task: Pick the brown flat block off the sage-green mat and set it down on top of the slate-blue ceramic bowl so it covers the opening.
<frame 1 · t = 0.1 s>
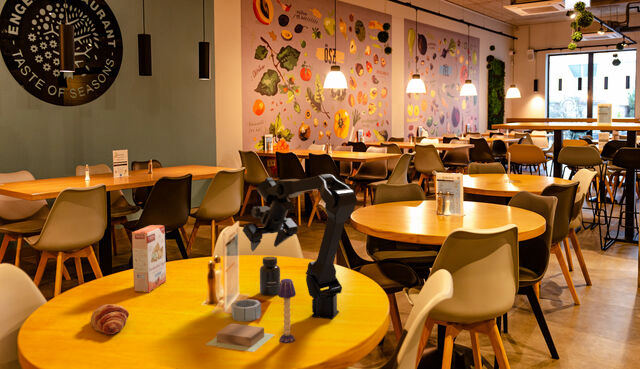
hand: (263, 248, 189), 15 cm above the table, tool tilted 35°, fingers open, 9 cm apart
brown flat block: (240, 339, 147), resting on mat
supplement bottle: (270, 293, 189), on the table
bowl: (246, 318, 165), on the table
croissant: (110, 326, 160), on the table
cracker box: (151, 287, 197), on the table
toy lamp: (287, 342, 147), on the table
mat: (240, 341, 148), on the table
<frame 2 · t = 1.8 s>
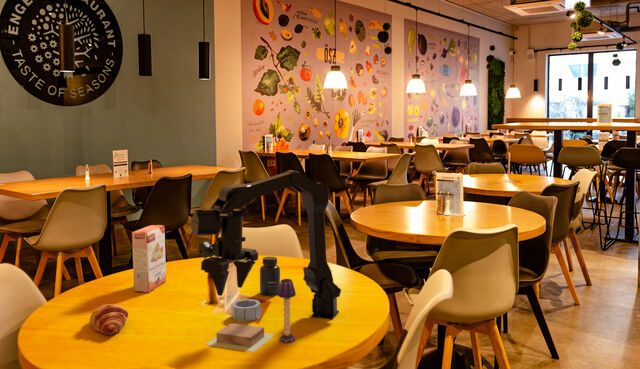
hand: (230, 291, 150), 12 cm above the table, tool pointing down, fingers open, 9 cm apart
nothing on the table moved.
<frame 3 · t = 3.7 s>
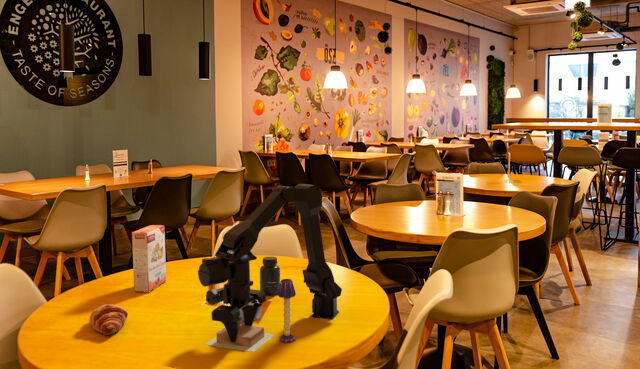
hand: (240, 336, 147), 1 cm above the table, tool pointing down, fingers closed on brown flat block, 7 cm apart
brown flat block: (240, 339, 147), resting on mat, touching gripper
everything else where it was.
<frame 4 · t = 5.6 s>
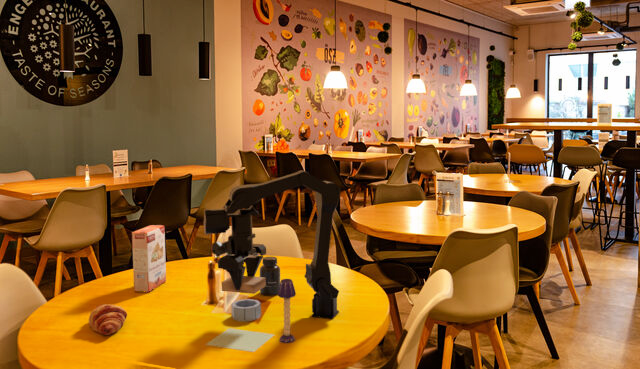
hand: (244, 285, 159), 11 cm above the table, tool pointing down, fingers closed on brown flat block, 7 cm apart
brown flat block: (244, 288, 159), point 10 cm above the table, touching gripper
everything else where it was.
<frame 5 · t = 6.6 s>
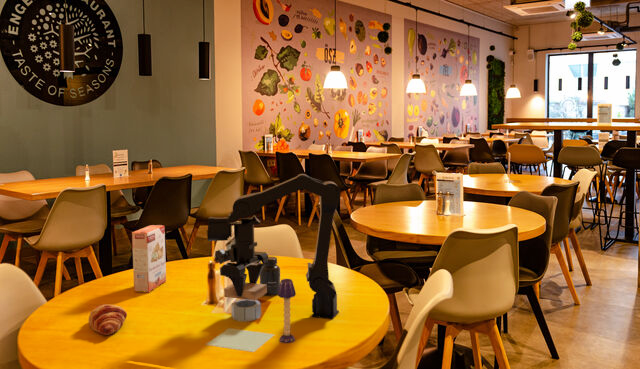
hand: (246, 292, 164), 8 cm above the table, tool pointing down, fingers closed on brown flat block, 7 cm apart
brown flat block: (245, 294, 164), point 7 cm above the table, touching gripper
everything else where it was.
when the fingers open (6 cm above the table, at t = 7.5 s): brown flat block stays where it is, point 4 cm above the table.
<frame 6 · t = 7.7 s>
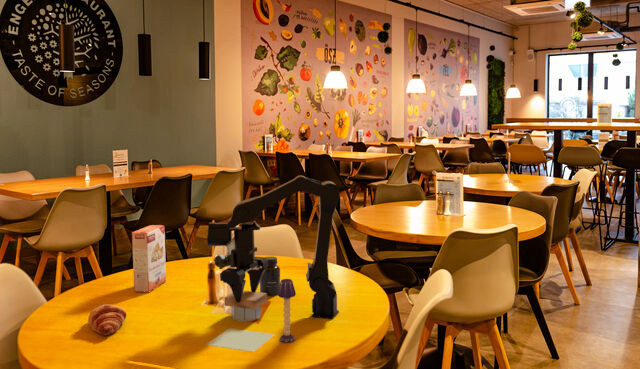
hand: (246, 297, 164), 6 cm above the table, tool pointing down, fingers open, 9 cm apart
brown flat block: (246, 303, 164), point 4 cm above the table
everything else where it was.
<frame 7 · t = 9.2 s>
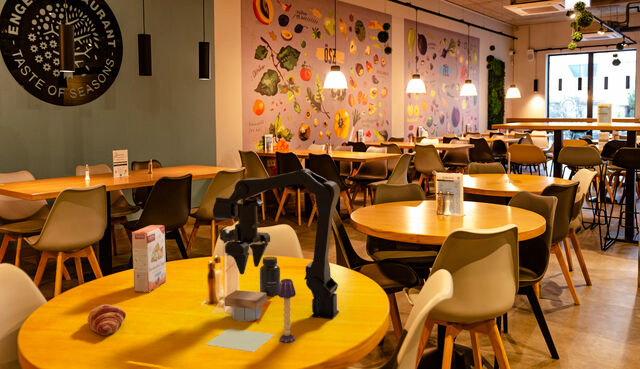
hand: (249, 270, 172), 12 cm above the table, tool pointing down, fingers open, 9 cm apart
brown flat block: (246, 303, 164), point 4 cm above the table, touching bowl
bowl: (246, 318, 165), on the table, touching brown flat block
everything else where it was.
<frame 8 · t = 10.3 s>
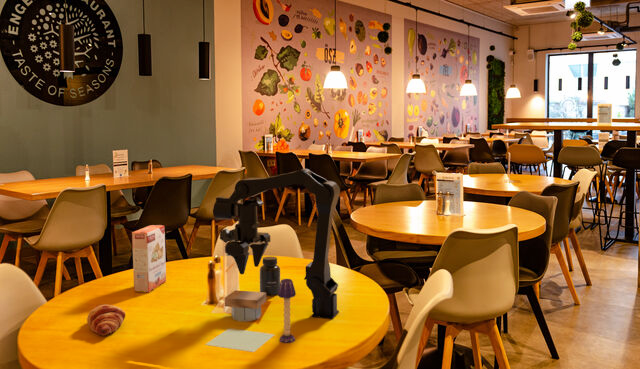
hand: (249, 270, 172), 12 cm above the table, tool pointing down, fingers open, 9 cm apart
nothing on the table moved.
at the end: brown flat block 0.1 cm off-centre on the bowl, point 4.5 cm above the bowl's base; brown flat block touching bowl; the gripper is holding nothing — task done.
